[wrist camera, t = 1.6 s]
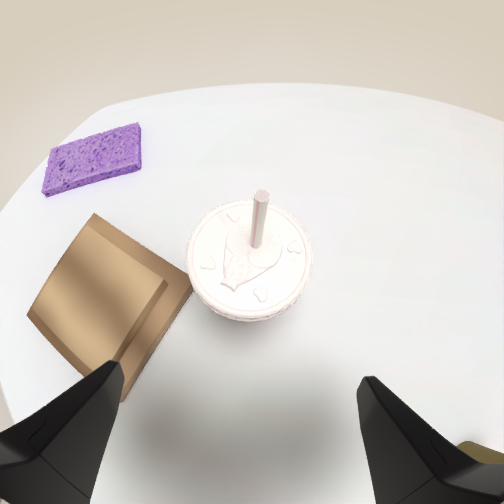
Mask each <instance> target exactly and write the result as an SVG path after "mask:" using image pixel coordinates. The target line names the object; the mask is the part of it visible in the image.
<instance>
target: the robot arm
mask: <svg viewBox="0 0 504 504" xmlns="http://www.w3.org/2000/svg"><path fill="white" fill-rule="evenodd" d="M124 381H125V377H124V373H123V370H122V367H121V364H120V362H118V361H115V360H108V361H107V362H105V363H104V364H102V365H101V366H100V367H98V368H97V369H95V370H94V371H93V372H91V373H90V374H89V375H87V376H86V377H84V378H83V379H82V380H80V381H79V382H77V383H76V384H75V385H73V386H72V387H70V388H69V389H68V390H66V391H65V392H63V393H62V394H61V395H59V396H58V397H57V398H55V399H54V400H52V401H51V402H50V403H48V404H47V405H46V406H44V407H42V408H41V409H40V410H38V411H37V412H35V413H34V414H32V415H31V416H29V417H28V418H26V419H24V420H22V421H21V422H19V423H17V424H15V425H13V426H12V427H10V428H8V429H6V430H4V431H2V432H0V504H90V499H91V496H92V492H93V489H94V485H95V481H96V478H97V474H98V471H99V468H100V464H101V461H102V458H103V455H104V452H105V448H106V445H107V442H108V439H109V436H110V433H111V430H112V427H113V424H114V421H115V418H116V415H117V411H118V407H119V403H120V398H121V394H122V390H123V385H124ZM357 403H358V411H359V420H360V428H361V433H362V437H363V442H364V446H365V451H366V455H367V460H368V465H369V469H370V474H371V479H372V485H373V490H374V495H375V501H376V504H504V464H488V463H482V462H479V461H477V460H475V459H473V458H472V457H471V456H469V455H468V454H466V453H465V452H463V451H462V450H460V449H459V448H457V447H456V446H455V445H453V444H452V443H451V442H449V441H448V440H447V439H445V438H444V437H443V436H442V435H441V434H439V433H438V432H437V431H436V430H435V429H432V427H431V426H430V425H429V424H428V423H427V422H426V421H424V420H423V419H422V418H421V417H420V416H419V415H418V414H417V413H415V412H414V411H413V410H412V409H411V408H410V407H409V406H408V405H406V404H405V403H404V402H403V401H402V400H401V399H400V398H399V397H397V396H396V395H395V394H394V393H393V392H392V391H391V390H390V389H389V388H387V387H386V386H385V385H384V384H383V383H382V382H381V381H380V380H378V379H377V378H376V377H375V376H365V377H364V378H363V379H362V381H361V383H360V385H359V387H358V389H357Z"/></svg>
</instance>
